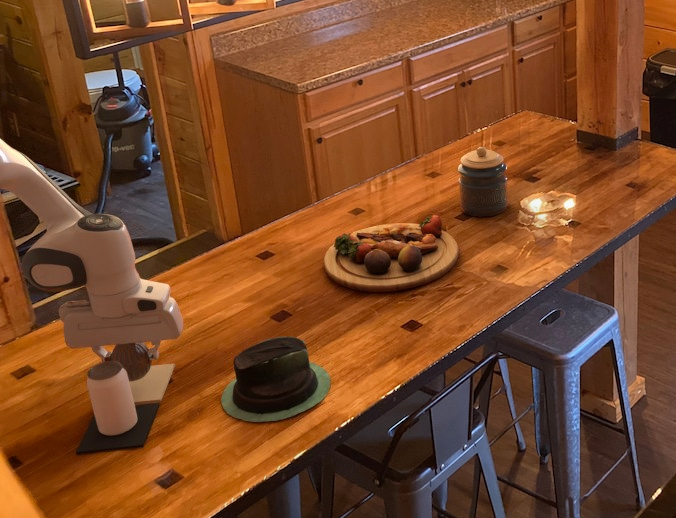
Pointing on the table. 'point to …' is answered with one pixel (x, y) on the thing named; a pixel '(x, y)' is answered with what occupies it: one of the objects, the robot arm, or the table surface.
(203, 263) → the table surface
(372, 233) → the wooden plate
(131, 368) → the vase
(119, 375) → the can
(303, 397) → the fedora hat
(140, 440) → the sorting mat
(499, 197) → the canister
